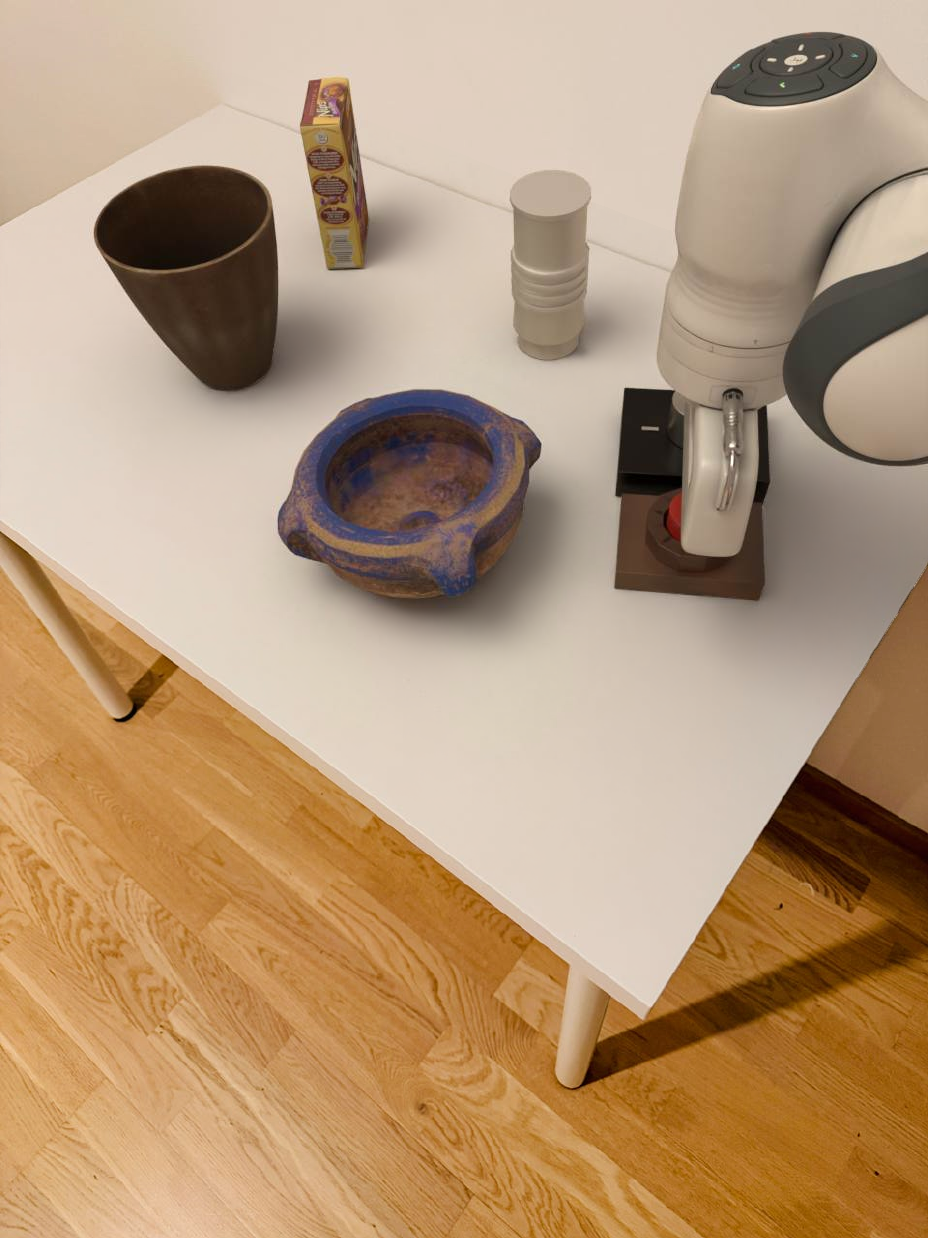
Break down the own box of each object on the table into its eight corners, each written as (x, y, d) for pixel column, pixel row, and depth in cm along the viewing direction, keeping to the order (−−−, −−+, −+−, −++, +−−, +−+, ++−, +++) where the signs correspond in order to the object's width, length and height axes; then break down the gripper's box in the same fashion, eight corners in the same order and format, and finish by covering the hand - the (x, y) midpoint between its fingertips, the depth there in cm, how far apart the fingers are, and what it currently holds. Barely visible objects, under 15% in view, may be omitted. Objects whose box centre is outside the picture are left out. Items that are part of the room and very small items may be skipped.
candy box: (367, 268, 96) (340, 123, 83) (327, 271, 96) (294, 126, 83) (372, 219, 101) (348, 74, 88) (334, 221, 101) (305, 77, 88)
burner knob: (669, 410, 77) (675, 375, 73) (722, 415, 76) (730, 380, 73) (664, 448, 74) (670, 413, 71) (719, 453, 74) (727, 419, 70)
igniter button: (720, 506, 70) (723, 491, 68) (720, 547, 68) (724, 532, 66) (667, 503, 70) (670, 487, 69) (665, 543, 68) (668, 528, 67)
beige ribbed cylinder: (596, 351, 86) (606, 203, 73) (528, 371, 85) (526, 224, 73) (568, 308, 90) (573, 161, 77) (502, 327, 89) (497, 181, 76)
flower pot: (342, 348, 89) (308, 195, 75) (238, 442, 82) (180, 292, 69) (234, 299, 94) (184, 147, 81) (128, 383, 88) (55, 234, 75)
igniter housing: (756, 520, 73) (767, 486, 70) (759, 600, 69) (770, 569, 66) (620, 510, 75) (623, 477, 72) (614, 588, 71) (617, 557, 67)
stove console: (759, 420, 79) (767, 392, 77) (762, 506, 74) (771, 480, 71) (621, 412, 81) (624, 385, 79) (614, 496, 76) (617, 470, 73)
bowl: (376, 440, 81) (358, 351, 73) (562, 497, 76) (565, 408, 68) (270, 590, 73) (236, 509, 64) (472, 666, 67) (463, 587, 59)
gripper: (795, 470, 48) (745, 613, 60) (781, 240, 60) (741, 399, 71) (675, 462, 49) (649, 605, 61) (683, 237, 60) (659, 394, 72)
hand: (698, 492), depth 66 cm, fingers closed
